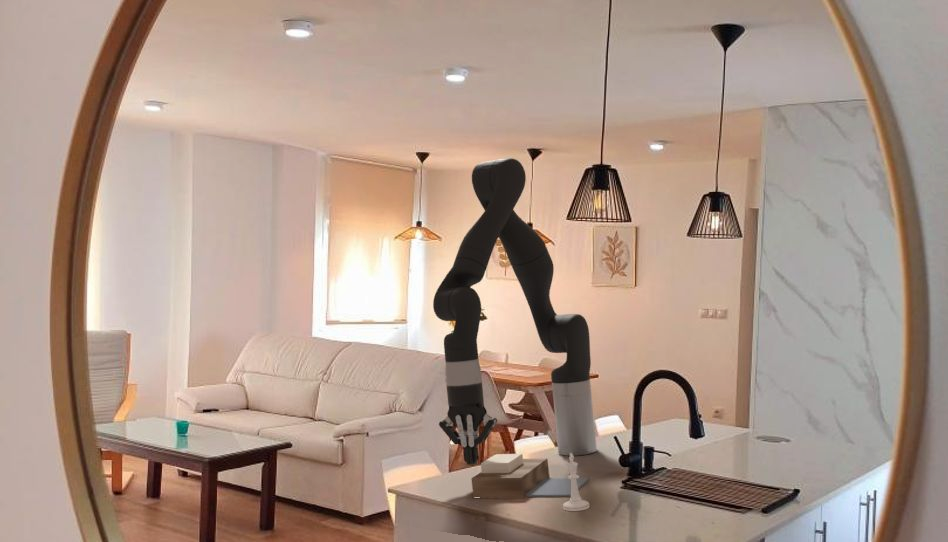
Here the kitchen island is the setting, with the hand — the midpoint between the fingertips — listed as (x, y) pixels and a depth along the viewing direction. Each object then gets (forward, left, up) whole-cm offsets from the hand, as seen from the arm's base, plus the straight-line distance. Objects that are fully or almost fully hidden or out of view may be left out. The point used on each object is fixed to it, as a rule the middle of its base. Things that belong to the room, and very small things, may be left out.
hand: (471, 463), depth 189 cm
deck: (0, +9, -5) cm, 10 cm away
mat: (+1, +19, -5) cm, 19 cm away
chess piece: (+16, +26, -5) cm, 31 cm away
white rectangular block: (0, +7, -1) cm, 7 cm away
